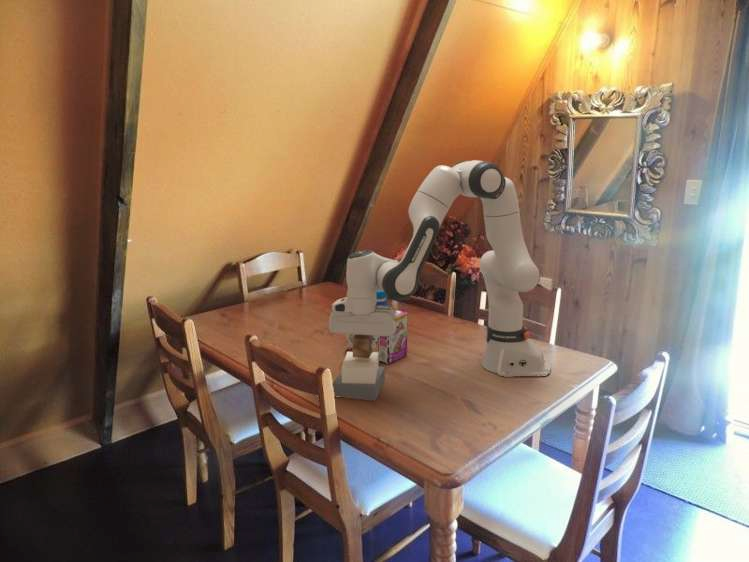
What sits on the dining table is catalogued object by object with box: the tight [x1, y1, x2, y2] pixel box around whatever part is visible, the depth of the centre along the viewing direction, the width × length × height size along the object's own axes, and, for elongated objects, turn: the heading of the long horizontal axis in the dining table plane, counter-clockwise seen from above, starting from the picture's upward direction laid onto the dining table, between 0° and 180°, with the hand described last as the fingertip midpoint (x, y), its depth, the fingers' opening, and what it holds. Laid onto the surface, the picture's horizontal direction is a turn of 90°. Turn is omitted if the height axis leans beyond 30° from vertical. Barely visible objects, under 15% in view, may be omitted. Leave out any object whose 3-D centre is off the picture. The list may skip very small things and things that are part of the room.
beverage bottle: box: [372, 290, 390, 343], centre depth 214 cm, size 8×8×20 cm
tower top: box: [340, 351, 380, 384], centre depth 172 cm, size 10×13×5 cm
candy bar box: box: [377, 309, 409, 365], centre depth 195 cm, size 11×5×16 cm, turn 141°
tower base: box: [332, 366, 386, 401], centre depth 173 cm, size 13×15×5 cm
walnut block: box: [351, 334, 373, 358], centre depth 170 cm, size 5×5×6 cm
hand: (362, 347), depth 170 cm, fingers closed on walnut block, 5 cm apart
